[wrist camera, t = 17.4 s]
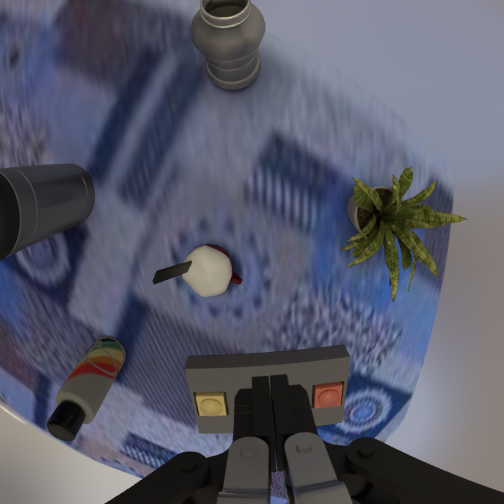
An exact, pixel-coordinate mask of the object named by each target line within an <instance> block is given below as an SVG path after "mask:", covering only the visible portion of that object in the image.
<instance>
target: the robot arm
mask: <svg viewBox="0 0 504 504" xmlns="http://www.w3.org/2000/svg"><path fill="white" fill-rule="evenodd" d="M93 202H94V189H93V184H92V182H91V179H90V177H89V176H88V174H87V173H86V172H85V171H84V170H83V169H82V168H80V167H79V166H77V165H74V164H51V165H36V166H23V167H11V168H2V169H0V260H2V259H4V258H6V257H8V256H10V255H12V254H14V253H17V252H19V251H20V250H23V249H25V248H27V247H29V246H31V245H33V244H36V243H38V242H40V241H42V240H44V239H47V238H49V237H51V236H53V235H56V234H58V233H60V232H63V231H65V230H68V229H70V228H72V227H75V226H77V225H79V224H81V223H82V222H83V221H84V220H85V219H86V218H87V217H88V215H89V214H90V212H91V209H92V207H93ZM270 392H271V394H270ZM275 449H276V452H275ZM276 459H277V468H278V471H284V486H285V492H286V496H287V500H288V504H504V493H503V492H500V491H497V490H494V489H492V488H489V487H486V486H483V485H480V484H478V483H475V482H472V481H469V480H467V479H464V478H462V477H459V476H457V475H454V474H452V473H449V472H447V471H444V470H442V469H440V468H437V467H435V466H433V465H430V464H428V463H426V462H423V461H421V460H419V459H416V458H415V457H412V456H410V455H408V454H406V453H404V452H402V451H399V450H397V449H395V448H393V447H391V446H389V445H387V444H385V443H383V442H381V441H379V440H377V439H374V438H369V437H363V438H358V439H356V440H354V441H352V442H351V443H350V444H349V445H348V446H343V445H333V444H330V443H327V442H325V441H324V440H323V439H321V438H320V436H319V435H318V432H317V429H316V425H315V421H314V417H313V413H312V409H311V405H310V401H309V397H308V393H307V391H306V390H305V389H304V388H303V387H302V386H301V385H300V384H297V385H289V382H288V377H287V374H280V375H270V385H269V376H254V377H252V388H247V389H239V391H238V392H237V394H236V395H235V398H234V427H233V442H232V444H231V446H230V447H229V449H228V450H226V451H225V452H223V453H221V454H219V455H216V456H212V457H208V458H206V457H205V456H203V455H202V454H200V453H197V452H191V451H189V452H182V453H180V454H177V455H176V456H174V457H173V458H172V459H170V460H169V461H167V462H166V463H165V464H163V465H162V466H161V467H159V468H158V469H156V470H155V471H153V472H152V473H151V474H149V475H148V476H146V477H145V478H143V479H142V480H140V481H139V482H138V483H136V484H134V485H133V486H131V487H130V488H129V489H127V490H125V491H124V492H122V493H121V494H119V495H118V496H116V497H114V498H113V499H111V500H110V501H108V502H107V503H105V504H270V498H271V485H272V472H276Z"/></svg>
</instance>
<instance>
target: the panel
mask: <svg viewBox="0 0 504 504" xmlns="http://www.w3.org/2000/svg"><path fill="white" fill-rule="evenodd" d="M349 362H350V356H349V354H348V352H347V350H346V348H345V346H344V345H338V346H329V347H321V348H312V349H302V350H291V351H280V352H267V353H253V354H235V355H213V356H188V359H187V363H186V367H185V372H186V377H187V382H188V386H189V391H190V395H191V400H192V404H193V408H194V413H195V417H196V421H197V425H198V429H199V433H233V427H234V398H235V395H236V394H237V392H238V391H239V389H247V388H252V377H254V376H269V385H270V375H280V374H287V377H288V382H289V385H297V384H300V385H301V386H302V387H303V388H304V389H305V390H306V391H307V393H308V397H309V401H310V405H311V409H312V413H313V417H314V421H315V425H316V426H321V425H328V424H334V423H341V422H342V419H343V412H344V404H345V397H346V389H347V381H348V372H349ZM340 381H341V383H342V385H343V387H342V395H341V404H340V405H337V406H332V407H329V408H316V409H315V408H314V405H313V401H312V386H313V385H318V384H325V383H333V382H340ZM196 392H226V399H227V413H226V415H222V416H200V414H199V410H198V405H197V401H196Z"/></svg>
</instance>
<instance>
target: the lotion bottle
mask: <svg viewBox="0 0 504 504" xmlns="http://www.w3.org/2000/svg"><path fill="white" fill-rule="evenodd" d="M125 358H126V352H125V349H124V347H123V345H122V344H121V343H120V342H119V341H118V340H116V339H115V338H112V337H109V336H103V337H100V338H99V339H97V340H96V342H95V343H94V344H93V345H92V347H91V348H90V349H89V351H88V352H87V353H86V355H85V356H84V357H83V359H82V360H81V361H80V363H79V364H78V365H77V367H76V368H75V369H74V371H73V372H72V374H71V375H70V376H69V378H68V379H67V380H66V382H65V383H64V385H63V386H62V387H61V389H60V390H59V392H58V393H57V395H56V404H57V408H56V409H55V411H54V412H53V414H52V415H51V417H50V418H49V420H48V422H47V427H48V430H49V432H50V433H51V434H52V435H53V436H55V437H56V438H58V439H61V440H64V441H73V440H74V439H75V437H76V435H77V433H78V431H79V429H80V428H81V426H82V424H88V423H90V422H91V421H92V420H93V419H94V417H95V415H96V413H97V411H98V410H99V408H100V406H101V404H102V402H103V400H104V398H105V396H106V394H107V393H108V391H109V389H110V387H111V385H112V383H113V381H114V380H115V378H116V376H117V374H118V372H119V370H120V369H121V367H122V365H123V363H124V361H125Z"/></svg>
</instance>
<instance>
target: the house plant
mask: <svg viewBox="0 0 504 504" xmlns="http://www.w3.org/2000/svg"><path fill="white" fill-rule="evenodd" d="M351 177H352V176H351ZM352 178H353V177H352ZM412 179H413V172H412V166H411V167H410V168H407V169H405V170H404V171H403V173H402V175H401V176H400V179H399V182H398V180H397V179H396V178H395V176H394V175H393V177H392V181H393V184H392V187H391V188H390V187H387V186H376V187H369V186H367V185H366V184H364V183H363V182H362V181H360V180H358V179H355V178H353V180H354V181H355V182H356V183H357V184H358V185H356V184H355V185H356V186H354V185H353V195H352V196H351V197H350V198H349V200H348V203H347V215H348V217H349V219H350V220H351V222H352V223H353V225H354V226H355V227H356V229H357V230H358V232H359V233H358V234H357V235H355V236H354V237H352V238H350V239H349V240H348V241H352V240H353V241H352V242H351V243H350V244H349V245H347V246H345V247H344V248H343V249H342V250H341V251H343V250H348V249H351V248H353V247H356V246H357V245H358V246H357V247H356V248H355V250H354V251H353V253H352V254H351V255H349V256H356V257H358V258H356V259H355V260H354V261H352V263H351V264H350V265H349V266H348V267H350V266H353V265H355V264H358V263H360V262H362V261H364V260H366V259H368V258H369V257H371V256H372V255H374V254H375V253H376V252H377V251H378V250H379V249H380V247H381V246H382V244H384V252H385V261H386V264H387V266H388V268H389V270H390V286H391V284H392V300H393V301H394V299H395V295H396V292H397V287H398V280H399V267H398V260H399V257H398V251H397V247H396V244H395V241H394V239H395V238H397V239H398V242H399V245H400V248H401V253H402V266H403V268H404V271H405V270H406V269H407V268H408V267H409V266H410V265H411V263H412V255H411V252H412V253H413V265H412V271H411V276H410V280H409V287H410V284H411V280H412V277H413V274H414V271H415V266H416V259H417V260H419V261H420V262H422V263H424V264H425V265H427V267H428V268H429V269H430V271H431V272H432V273H433V274H435V275H436V276H437V277H438V271H437V268H436V265H435V262H434V261H433V259H432V257H431V255H430V253H429V252H428V250H427V249H426V248H425V246H424V245H423V243H422V242H421V240H420V239H419V237H418V236H417V235H416V234H415V233H414V232H412V231H410V230H409V229H408V228H411V229H416V228H430V227H433V228H434V229H435V226H443V225H446V224H449V223H455V222H460V221H462V220H464V219H466V218H464V217H461V216H458V215H454V214H449V213H444V212H437V211H433V210H432V208H431V207H430V206H428V205H417V204H419V203H421V202H423V201H424V200H425V199H426V198H427V197H428V196H429V195H430V194H431V193H432V192H433V190H434V188H435V185H436V183H437V181H436V182H434V183H432V184H431V186H430V187H429V188H426V189H424V190H422V191H421V192H420V193H419V194H417V195H416V196H414V197H413V198H410V199H407V200H405V201H404V200H403V198H402V197H403V195H404V194H405V193H406V191H407V190H408V188H409V187H410V185H411V183H412ZM415 205H416V206H415ZM433 225H435V226H433ZM364 239H365V240H364ZM361 242H362V243H361ZM410 250H411V252H410ZM409 287H408V291H409Z"/></svg>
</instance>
